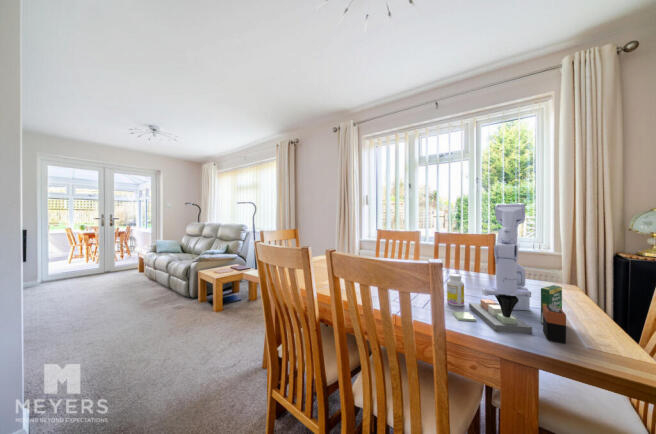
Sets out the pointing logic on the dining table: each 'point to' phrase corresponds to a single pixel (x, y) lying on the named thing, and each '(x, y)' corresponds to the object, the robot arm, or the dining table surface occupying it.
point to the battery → (554, 323)
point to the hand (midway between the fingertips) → (506, 316)
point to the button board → (496, 324)
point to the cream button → (494, 309)
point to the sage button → (506, 319)
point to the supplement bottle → (455, 290)
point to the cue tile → (464, 316)
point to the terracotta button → (487, 303)
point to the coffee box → (551, 297)
